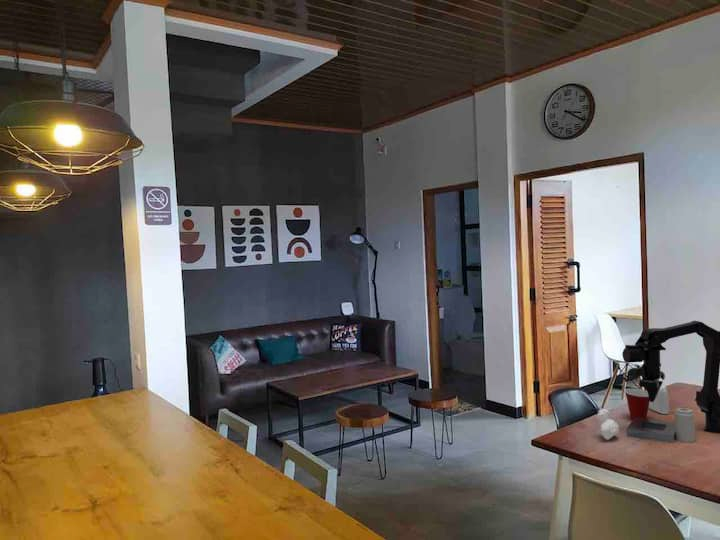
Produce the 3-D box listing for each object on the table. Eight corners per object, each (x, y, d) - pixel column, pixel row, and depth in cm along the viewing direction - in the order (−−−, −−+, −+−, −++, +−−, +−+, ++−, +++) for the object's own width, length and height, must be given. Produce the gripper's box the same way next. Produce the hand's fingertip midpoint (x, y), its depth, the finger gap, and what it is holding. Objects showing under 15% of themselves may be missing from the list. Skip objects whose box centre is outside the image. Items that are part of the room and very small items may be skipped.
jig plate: (635, 424, 226) (635, 417, 225) (679, 431, 216) (679, 423, 216) (626, 435, 213) (626, 428, 213) (673, 443, 203) (673, 435, 203)
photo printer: (647, 408, 247) (646, 380, 246) (656, 407, 247) (655, 380, 246) (661, 414, 236) (660, 386, 236) (670, 414, 237) (670, 386, 236)
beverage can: (693, 439, 208) (692, 408, 207) (696, 444, 202) (695, 412, 201) (674, 437, 210) (673, 406, 210) (676, 443, 205) (675, 411, 204)
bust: (615, 444, 204) (615, 415, 204) (594, 441, 209) (593, 412, 208) (621, 435, 214) (620, 406, 214) (600, 431, 219) (600, 404, 218)
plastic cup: (652, 424, 224) (652, 395, 224) (623, 421, 230) (622, 393, 230) (654, 417, 234) (653, 389, 233) (626, 414, 239) (625, 387, 239)
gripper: (634, 355, 225) (634, 392, 226) (624, 364, 211) (625, 403, 211) (664, 357, 219) (665, 396, 219) (656, 366, 204) (657, 408, 205)
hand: (652, 400), depth 214 cm, fingers open, 3 cm apart
